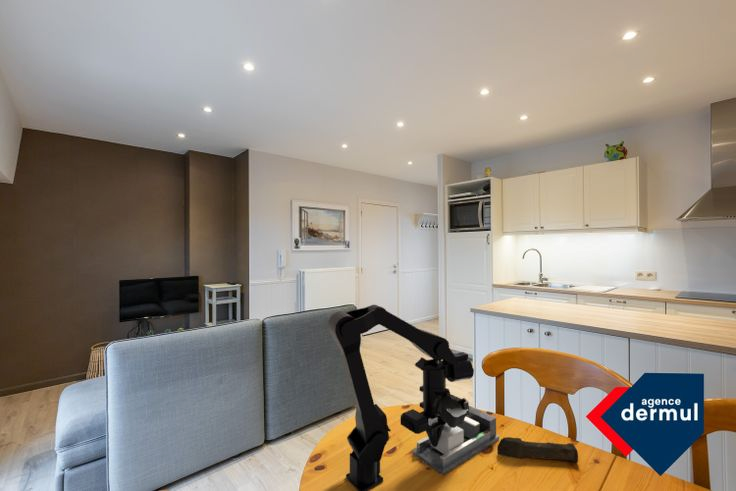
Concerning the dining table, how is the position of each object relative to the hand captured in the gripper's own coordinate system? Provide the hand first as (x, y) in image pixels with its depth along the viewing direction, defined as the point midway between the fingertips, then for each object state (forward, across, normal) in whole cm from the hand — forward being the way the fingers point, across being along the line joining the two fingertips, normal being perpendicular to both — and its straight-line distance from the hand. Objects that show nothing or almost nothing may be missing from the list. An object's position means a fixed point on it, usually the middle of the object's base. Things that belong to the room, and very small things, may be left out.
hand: (434, 445), depth 83 cm
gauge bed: (+3, +9, 0) cm, 10 cm away
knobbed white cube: (+2, +5, 0) cm, 5 cm away
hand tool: (+4, +21, -15) cm, 27 cm away
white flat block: (+2, +14, 0) cm, 14 cm away
